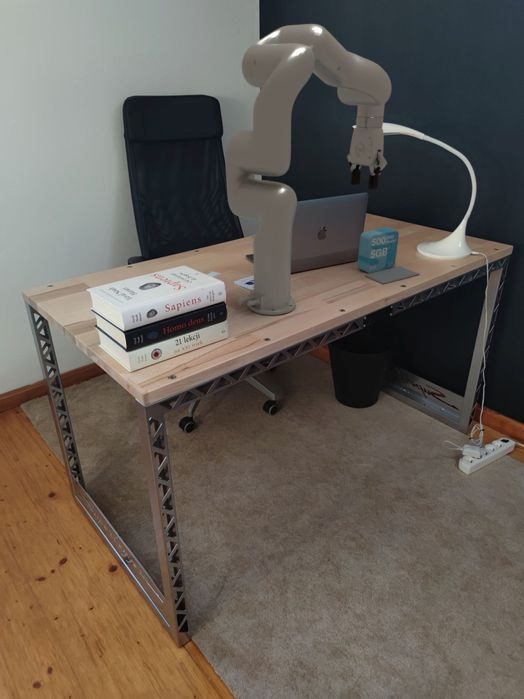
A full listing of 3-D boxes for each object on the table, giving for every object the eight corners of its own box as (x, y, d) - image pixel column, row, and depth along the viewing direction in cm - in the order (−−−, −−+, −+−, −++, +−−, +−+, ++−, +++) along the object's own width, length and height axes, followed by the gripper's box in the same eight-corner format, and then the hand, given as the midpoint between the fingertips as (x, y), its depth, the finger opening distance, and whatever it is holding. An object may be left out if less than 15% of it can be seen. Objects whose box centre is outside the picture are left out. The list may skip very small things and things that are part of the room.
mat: (383, 284, 148) (383, 283, 147) (364, 276, 154) (364, 275, 153) (419, 274, 155) (419, 273, 154) (400, 267, 161) (400, 266, 160)
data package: (366, 274, 155) (370, 235, 150) (356, 269, 159) (360, 232, 153) (395, 267, 161) (399, 229, 155) (384, 263, 164) (389, 226, 159)
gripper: (340, 121, 151) (336, 183, 160) (381, 126, 138) (374, 192, 147) (359, 120, 155) (354, 180, 163) (400, 124, 142) (393, 190, 150)
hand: (363, 186), depth 155 cm, fingers open, 7 cm apart
